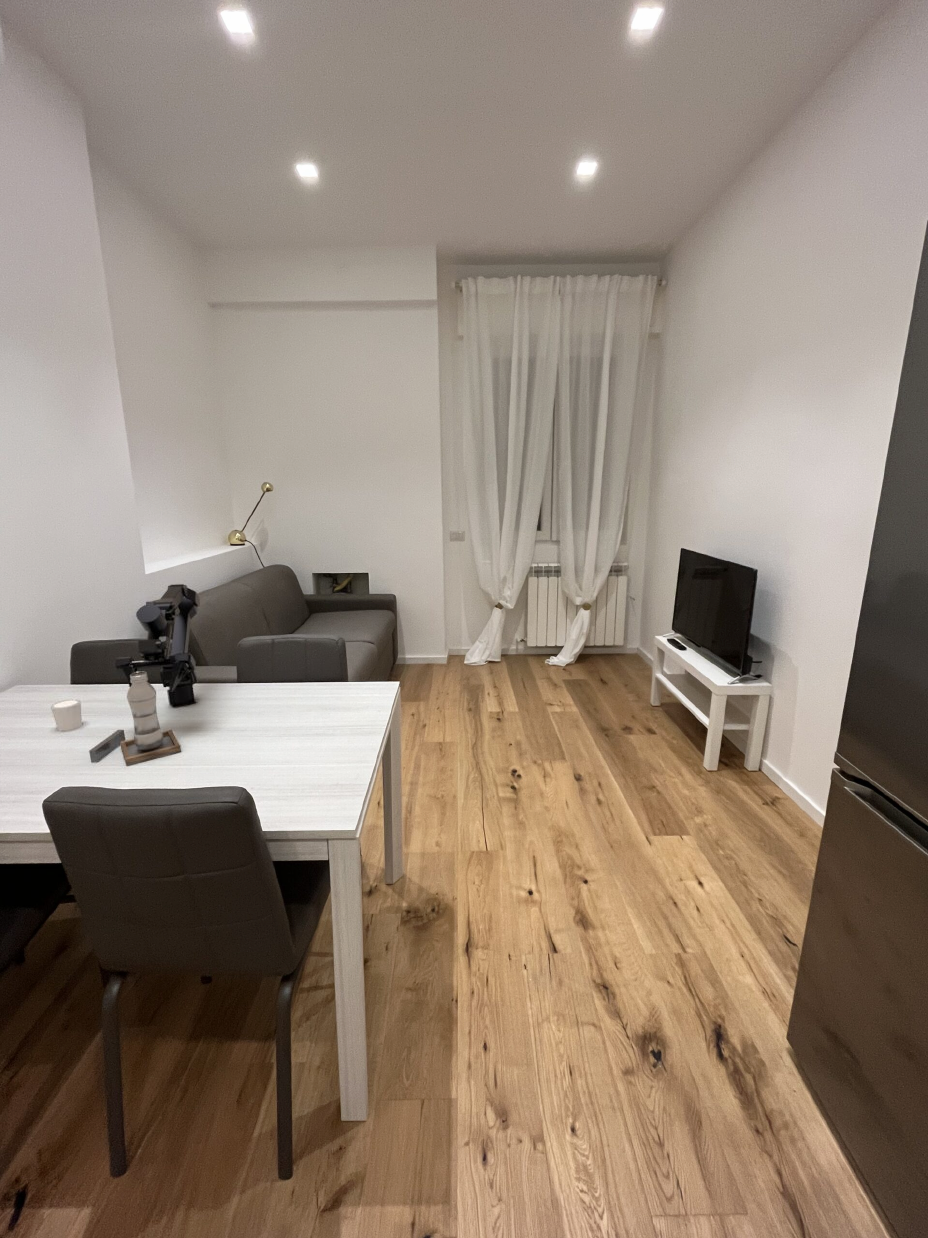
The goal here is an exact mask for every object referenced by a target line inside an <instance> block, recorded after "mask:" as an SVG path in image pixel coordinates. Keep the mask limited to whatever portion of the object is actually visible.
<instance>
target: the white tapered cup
mask: <svg viewBox="0 0 928 1238" xmlns="http://www.w3.org/2000/svg"><path fill="white" fill-rule="evenodd" d="M50 709H51V713H52V717H53V719H54V721H55V725H56V727H57V728H56V729H57V730H58V731H60V732H68V731H73V730H76V729H79V728H80V727H81V726H83V721H82V719H83V718H82V716H83V715H82V702H81V701H80V699H65V700H61V701H58V702H55V703H53V704H51V705H50ZM78 727H79V728H78Z"/></svg>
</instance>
